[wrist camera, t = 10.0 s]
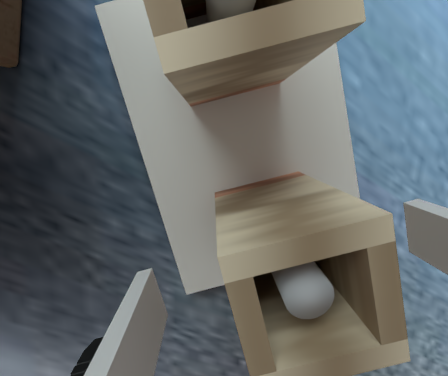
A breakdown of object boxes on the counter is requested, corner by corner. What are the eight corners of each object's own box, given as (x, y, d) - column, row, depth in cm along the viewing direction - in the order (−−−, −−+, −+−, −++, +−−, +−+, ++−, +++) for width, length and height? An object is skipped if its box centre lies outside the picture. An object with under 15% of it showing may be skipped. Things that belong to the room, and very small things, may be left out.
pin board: (188, 280, 22) (166, 418, 11) (107, 19, 18) (-46, -146, 7) (354, 238, 22) (488, 338, 11) (309, -35, 18) (453, -283, 7)
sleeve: (234, 268, 20) (256, 398, 10) (214, 192, 19) (217, 257, 9) (313, 249, 20) (410, 361, 10) (298, 171, 19) (392, 213, 9)
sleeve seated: (190, 106, 18) (164, 74, 8) (163, 6, 16) (91, -181, 7) (280, 83, 18) (365, 21, 8) (259, -19, 16) (331, -247, 7)
